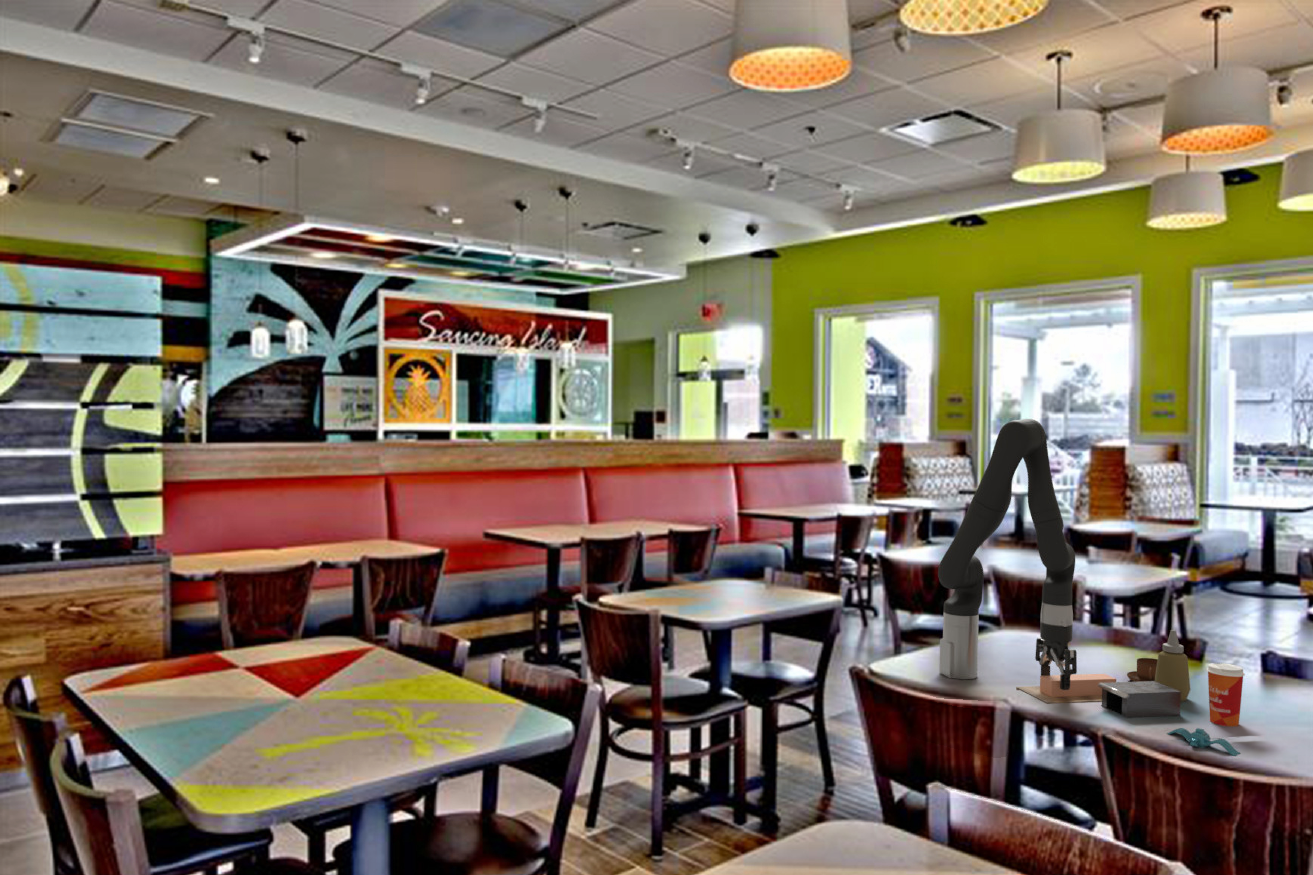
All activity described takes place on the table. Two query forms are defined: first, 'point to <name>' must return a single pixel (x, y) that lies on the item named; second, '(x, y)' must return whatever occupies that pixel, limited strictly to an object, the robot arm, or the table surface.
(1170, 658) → the squeeze bottle
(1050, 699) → the board
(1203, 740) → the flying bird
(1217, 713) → the paper cup
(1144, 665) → the cup and saucer
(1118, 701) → the dispenser
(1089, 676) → the block
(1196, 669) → the table surface
